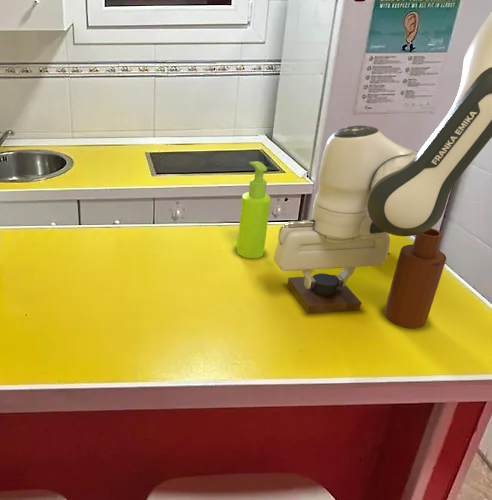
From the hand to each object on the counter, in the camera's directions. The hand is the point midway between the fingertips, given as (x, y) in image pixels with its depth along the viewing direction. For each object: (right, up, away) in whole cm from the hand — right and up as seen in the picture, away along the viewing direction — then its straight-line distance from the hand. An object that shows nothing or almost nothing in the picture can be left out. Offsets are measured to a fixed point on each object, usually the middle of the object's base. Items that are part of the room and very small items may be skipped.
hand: (324, 286), depth 98 cm
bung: (0, -2, +1) cm, 2 cm away
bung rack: (0, -2, +1) cm, 2 cm away
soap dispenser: (-10, +6, +18) cm, 22 cm away
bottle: (+13, -5, -5) cm, 15 cm away
